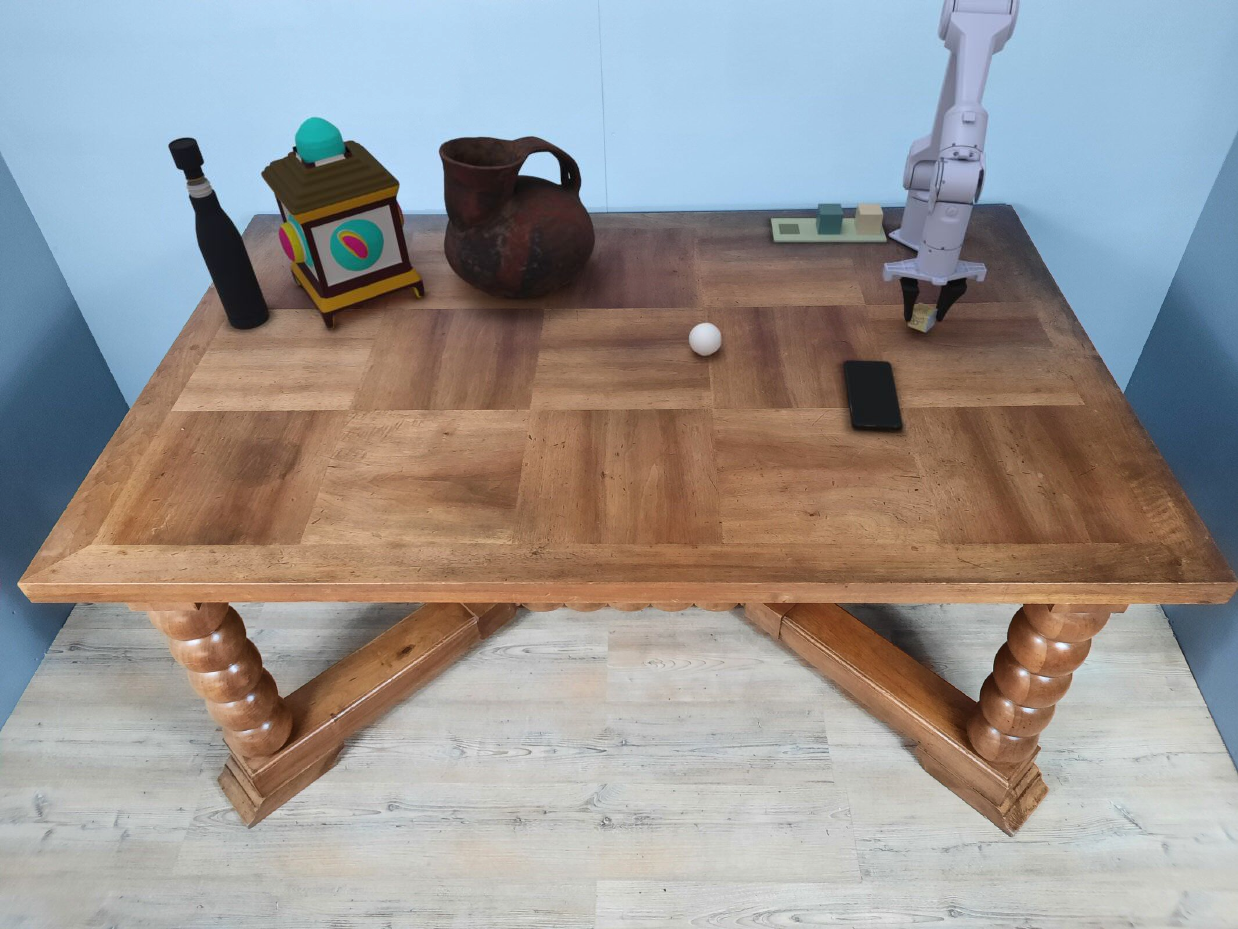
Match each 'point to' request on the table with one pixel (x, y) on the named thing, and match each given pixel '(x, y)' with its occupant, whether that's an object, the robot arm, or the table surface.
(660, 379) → the table surface
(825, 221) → the teal cube
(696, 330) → the white ping pong ball
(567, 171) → the jug
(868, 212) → the beige cube block
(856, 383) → the smartphone
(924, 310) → the alphabet block
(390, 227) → the decorative lantern
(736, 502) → the table surface
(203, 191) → the wine bottle
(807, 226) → the word mat
